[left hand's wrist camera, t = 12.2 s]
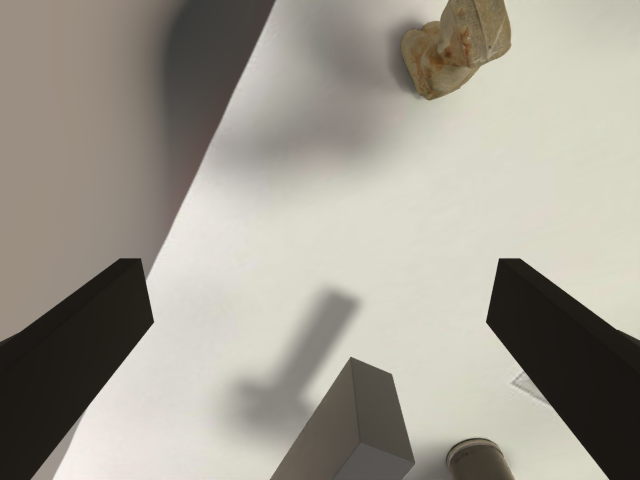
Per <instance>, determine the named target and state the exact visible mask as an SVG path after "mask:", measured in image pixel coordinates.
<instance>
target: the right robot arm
mask: <svg viewBox="0 0 640 480" xmlns="http://www.w3.org/2000/svg"><path fill="white" fill-rule="evenodd" d="M447 466H448V468H449V471H450V473H451V475H452V478H453V480H515V478H514V476H513V475H512V473H511V471H510V469H509V467H508V465H507V463H506V461H505V459H504V457H503V454H502V452H501V450H500V449H499V447H498V446H497V445H496V444H494V443H493V442H491V441H488V440H483V439H474V440H469V441H465V442H463V443H460V444H459V445H457V446H456V447H454V448H453V449H452V450H451V451H450V453H449V454H448V457H447Z"/></svg>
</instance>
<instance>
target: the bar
mask: <svg viewBox="0 0 640 480" xmlns="http://www.w3.org/2000/svg"><path fill="white" fill-rule="evenodd" d="M414 464H415V461H414V457H413V453H412V449H411V445H410V442H409V438H408V434H407V430H406V426H405V423H404V419H403V415H402V411H401V407H400V403H399V400H398V396H397V392H396V388H395V384H394V380H393V377H392V374H390V373H388V372H386V371H383V370H381V369H378V368H376V367H374V366H371V365H369V364H367V363H364V362H362V361H359V360H357V359H355V358H352V357H350V359H349V360H348V362H347V363H346V365H345V366H344V368H343V369H342V371H341V372H340V374H339V375H338V377H337V378H336V380H335V381H334V383H333V384H332V386H331V388H330V389H329V391H328V392H327V394H326V395H325V397H324V398H323V400H322V401H321V403H320V404H319V406H318V407H317V409H316V410H315V412H314V413H313V415H312V416H311V418H310V419H309V421H308V422H307V424H306V426H305V427H304V429H303V430H302V432H301V433H300V435H299V436H298V438H297V439H296V441H295V442H294V444H293V445H292V447H291V448H290V450H289V451H288V453H287V454H286V456H285V457H284V459H283V460H282V462H281V464H280V465H279V467H278V468H277V470H276V471H275V473H274V474H273V476H272V477H271V479H270V480H401V479H402V478H403V477H404V476H405V475H406V474H407V472H408V471H409V470H410V469H411V468H412V467H413V465H414Z"/></svg>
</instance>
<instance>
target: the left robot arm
mask: <svg viewBox="0 0 640 480" xmlns="http://www.w3.org/2000/svg"><path fill="white" fill-rule="evenodd" d="M153 323H154V320H153V315H152V310H151V305H150V300H149V295H148V291H147V286H146V281H145V276H144V271H143V266H142V261H141V258H120V259H119V260H117V261H116V262H115V263H113V264H112V265H110V266H109V267H108V268H106V269H105V270H104V271H102V272H101V273H100V274H98V275H97V276H96V277H94V278H93V279H92V280H90V281H89V282H87V283H86V284H85V285H83V286H82V287H81V288H79V289H78V290H77V291H75V292H74V293H73V294H71V295H70V296H68V297H67V298H66V299H64V300H63V301H62V302H60V303H59V304H58V305H56V306H55V307H54V308H52V309H51V310H50V311H48V312H47V313H45V314H44V315H43V316H41V317H40V318H39V319H37V320H36V321H35V322H33V323H32V324H31V325H29V326H28V327H26V328H25V329H24V330H22V331H21V332H19V333H17V334H15V335H13V336H11V337H9V338H7V339H5V340H3V341H1V342H0V480H31V478H32V477H33V476H34V474H35V473H36V472H37V471H38V469H39V468H40V467H41V466H42V464H43V463H44V462H45V460H46V459H47V458H48V457H49V455H50V454H51V453H52V452H53V450H54V449H55V448H56V446H57V445H58V444H59V443H60V441H61V440H62V439H63V438H64V436H65V435H66V434H67V432H68V431H69V430H70V429H71V427H72V426H73V425H74V424H75V422H76V421H77V420H78V418H79V417H80V416H81V415H82V413H83V412H84V411H85V410H86V408H87V407H88V406H89V404H90V403H91V402H92V401H93V399H94V398H95V397H96V396H97V394H98V393H99V392H100V390H101V389H102V388H103V387H104V385H105V384H106V383H107V382H108V380H109V379H110V378H111V376H112V375H113V374H114V373H115V371H116V370H117V369H118V368H119V366H120V365H121V364H122V362H123V361H124V360H125V359H126V357H127V356H128V355H129V353H130V352H131V351H132V350H133V348H134V347H135V346H136V345H137V343H138V342H139V341H140V339H141V338H142V337H143V336H144V334H145V333H146V332H147V331H148V329H149V328H150V327H151V325H152V324H153ZM486 323H487V324H488V325H489V327H490V328H491V329H492V331H493V332H494V333H495V334H496V336H497V337H498V338H499V339H500V341H501V342H502V343H503V345H504V346H505V347H506V348H507V350H508V351H509V352H510V353H511V355H512V356H513V357H514V359H515V360H516V361H517V362H518V364H519V365H520V366H521V368H522V369H523V370H524V371H525V373H526V374H527V375H528V376H529V378H530V379H531V380H532V382H533V383H534V384H535V385H536V387H537V388H538V389H539V390H540V392H541V393H542V394H543V396H544V397H545V398H546V399H547V401H548V402H549V403H550V404H551V406H552V407H553V408H554V410H555V411H556V412H557V413H558V415H559V416H560V417H561V418H562V420H563V421H564V422H565V424H566V425H567V426H568V427H569V429H570V430H571V431H572V432H573V434H574V435H575V436H576V438H577V439H578V440H579V441H580V443H581V444H582V445H583V446H584V448H585V449H586V450H587V452H588V453H589V454H590V455H591V457H592V458H593V459H594V460H595V462H596V463H597V464H598V466H599V467H600V468H601V469H602V471H603V472H604V473H605V474H606V476H607V477H608V478H609V480H640V340H638V339H636V338H634V337H632V336H630V335H628V334H626V333H624V332H622V331H620V330H616V329H615V328H614V327H612V326H611V325H609V324H608V323H607V322H605V321H604V320H603V319H601V318H600V317H599V316H597V315H596V314H595V313H593V312H592V311H591V310H589V309H588V308H586V307H585V306H584V305H582V304H581V303H580V302H578V301H577V300H576V299H574V298H573V297H572V296H570V295H569V294H567V293H566V292H565V291H563V290H562V289H561V288H559V287H558V286H557V285H555V284H554V283H553V282H551V281H550V280H549V279H547V278H546V277H544V276H543V275H542V274H540V273H539V272H538V271H536V270H535V269H534V268H532V267H531V266H530V265H528V264H527V263H525V262H524V261H523V260H521V259H520V258H499V261H498V266H497V271H496V276H495V281H494V286H493V291H492V295H491V300H490V305H489V310H488V315H487V320H486Z"/></svg>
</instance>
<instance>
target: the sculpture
mask: <svg viewBox="0 0 640 480" xmlns="http://www.w3.org/2000/svg"><path fill="white" fill-rule="evenodd" d="M510 47H511V28H510V22H509V18H508V15H507V11H506V8H505V4H504V0H449V1H448V3H447V6H446V8H445V9H444V11H443V13H442V15H441V20H440V21H433V22H429V23H427V24H426V25H424V26H423V28H422V30H421V31H420V30H417V29H412V30H410V31H408V32H406V33H405V35H404V36H403V38H402V41H401V51H402V55H403V58H404V61H405V64H406V66H407V69H408V71H409V73H410V75H411V77H412V79H413V81H414V84H415V87H416V91H417V92H418V94H419V95H423V96H424V97H425V99H427V100H433V99H436V98H439V97H442V96H444V95H446V94H449V93H451V92H453V91H455V90H457V89H459V88H460V87H461V86H462V85H463V84H465V83H466V82H467V81H468V80H469V79H470V78H471V77H472V76H473V75H474V74H475V72H476V71H477V70H478V69H479V68H480V66H482V65H484V64H486V63H487V62H490V61H492V60H494V59H497V58H499V57H501V56H503V55H504V54H505V53H506V52H507V51H508V50H509V49H510Z"/></svg>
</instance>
